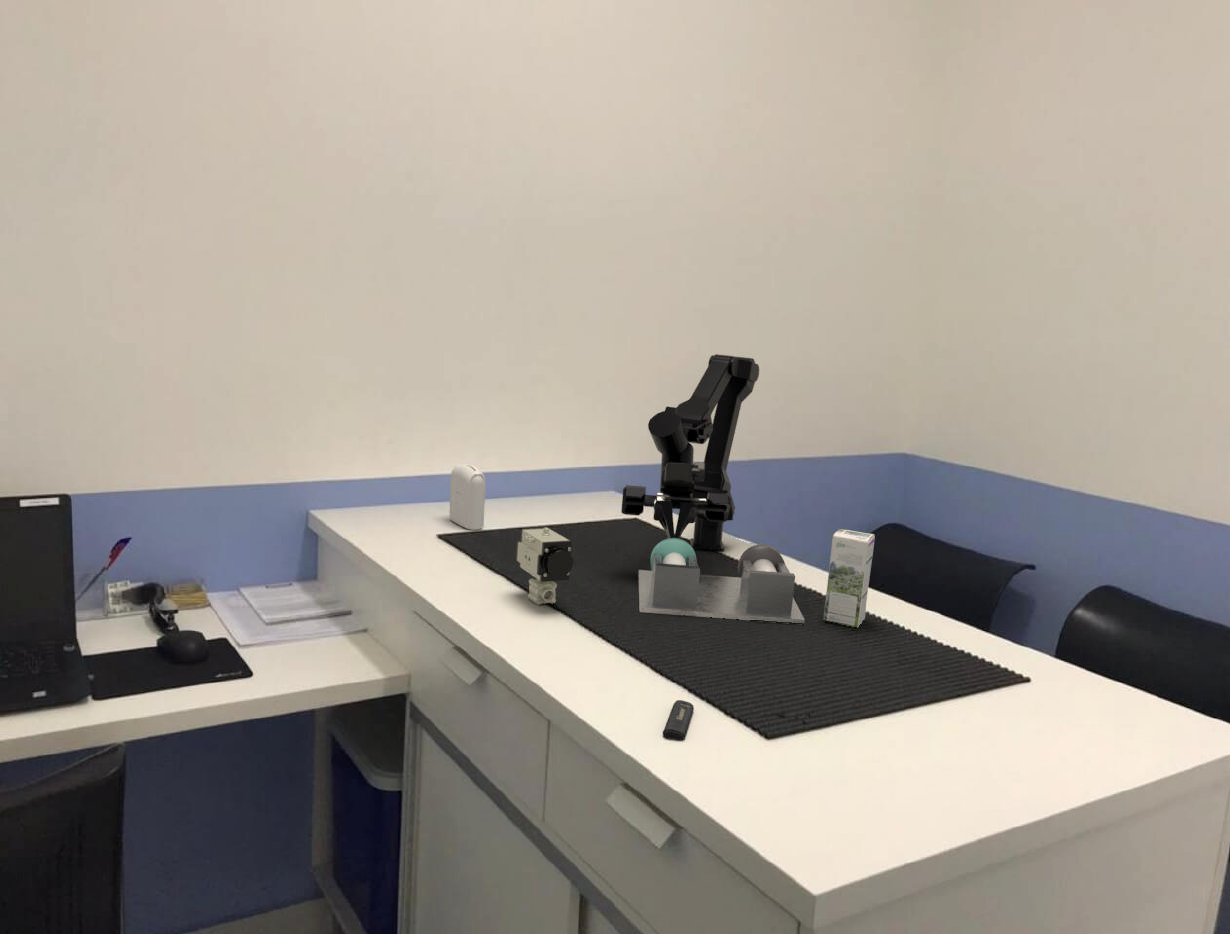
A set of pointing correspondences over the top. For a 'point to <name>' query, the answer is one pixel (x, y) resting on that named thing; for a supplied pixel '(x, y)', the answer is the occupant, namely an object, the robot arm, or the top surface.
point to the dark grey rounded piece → (761, 558)
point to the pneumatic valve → (544, 561)
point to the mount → (718, 592)
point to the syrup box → (848, 577)
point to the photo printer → (467, 496)
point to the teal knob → (673, 551)
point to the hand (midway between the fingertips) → (673, 545)
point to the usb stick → (678, 720)
